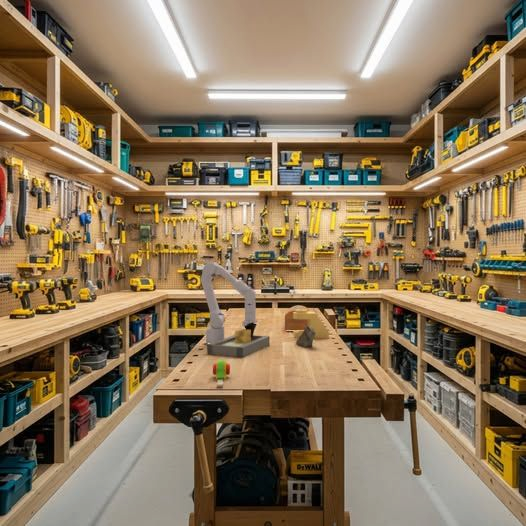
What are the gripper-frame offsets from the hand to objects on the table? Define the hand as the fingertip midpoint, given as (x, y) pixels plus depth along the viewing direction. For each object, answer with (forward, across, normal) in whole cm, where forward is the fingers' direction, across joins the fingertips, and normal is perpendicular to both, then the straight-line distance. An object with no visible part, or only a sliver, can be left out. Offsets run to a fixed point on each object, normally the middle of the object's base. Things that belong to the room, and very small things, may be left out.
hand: (250, 337), depth 212 cm
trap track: (+4, -12, 0) cm, 12 cm away
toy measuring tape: (+4, -62, -18) cm, 64 cm away
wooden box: (+4, +63, -4) cm, 63 cm away
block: (+1, -8, 0) cm, 8 cm away
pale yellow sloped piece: (+4, +35, -22) cm, 42 cm away
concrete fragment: (+4, +9, -27) cm, 29 cm away
